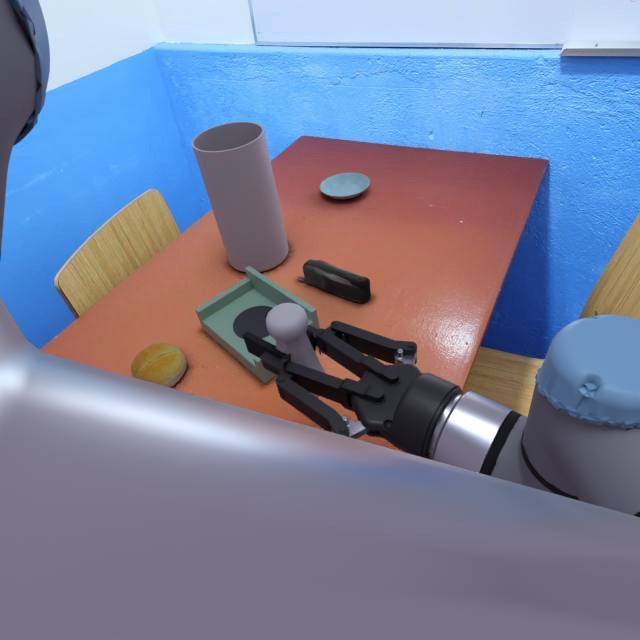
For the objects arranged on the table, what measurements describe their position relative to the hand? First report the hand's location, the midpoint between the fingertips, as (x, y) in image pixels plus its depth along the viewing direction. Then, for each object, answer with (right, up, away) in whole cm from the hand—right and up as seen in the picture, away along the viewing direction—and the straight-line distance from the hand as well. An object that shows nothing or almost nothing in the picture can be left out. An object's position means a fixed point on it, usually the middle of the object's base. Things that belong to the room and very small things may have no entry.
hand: (259, 332), depth 54 cm
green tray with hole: (-3, -1, +26) cm, 26 cm away
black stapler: (+9, +7, +32) cm, 34 cm away
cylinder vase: (-5, +14, +43) cm, 46 cm away
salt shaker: (+5, -7, +2) cm, 9 cm away
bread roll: (-19, -7, +23) cm, 30 cm away
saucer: (+13, +32, +58) cm, 67 cm away
